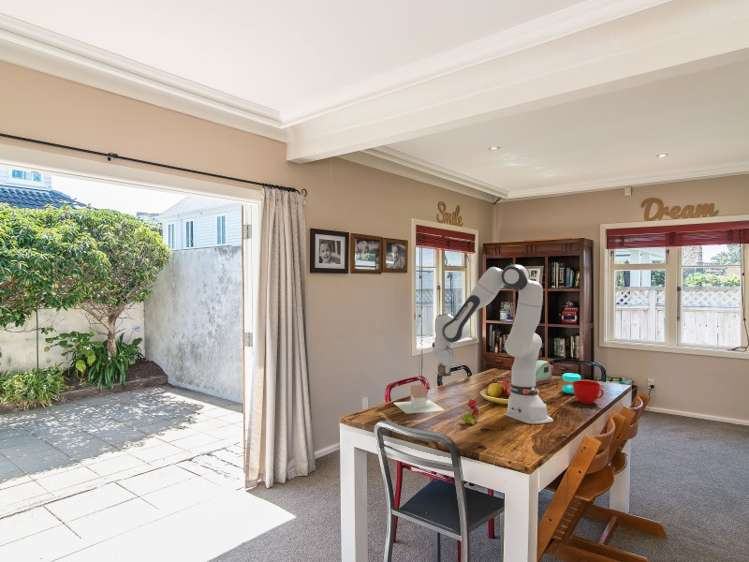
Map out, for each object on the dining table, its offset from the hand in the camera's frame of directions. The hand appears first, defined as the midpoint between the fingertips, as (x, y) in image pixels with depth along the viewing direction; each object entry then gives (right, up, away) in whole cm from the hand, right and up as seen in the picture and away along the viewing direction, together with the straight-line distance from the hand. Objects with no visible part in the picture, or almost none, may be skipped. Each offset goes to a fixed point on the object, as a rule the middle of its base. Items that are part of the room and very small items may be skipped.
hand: (444, 372), depth 248 cm
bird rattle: (+8, -17, -33) cm, 38 cm away
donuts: (+76, -17, +26) cm, 83 cm away
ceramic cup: (+76, -17, +2) cm, 78 cm away
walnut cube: (0, -2, 0) cm, 2 cm away
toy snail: (+67, -16, +50) cm, 86 cm away
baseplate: (-14, -16, -10) cm, 24 cm away
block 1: (-14, -10, -10) cm, 20 cm away
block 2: (-14, -15, -10) cm, 23 cm away
